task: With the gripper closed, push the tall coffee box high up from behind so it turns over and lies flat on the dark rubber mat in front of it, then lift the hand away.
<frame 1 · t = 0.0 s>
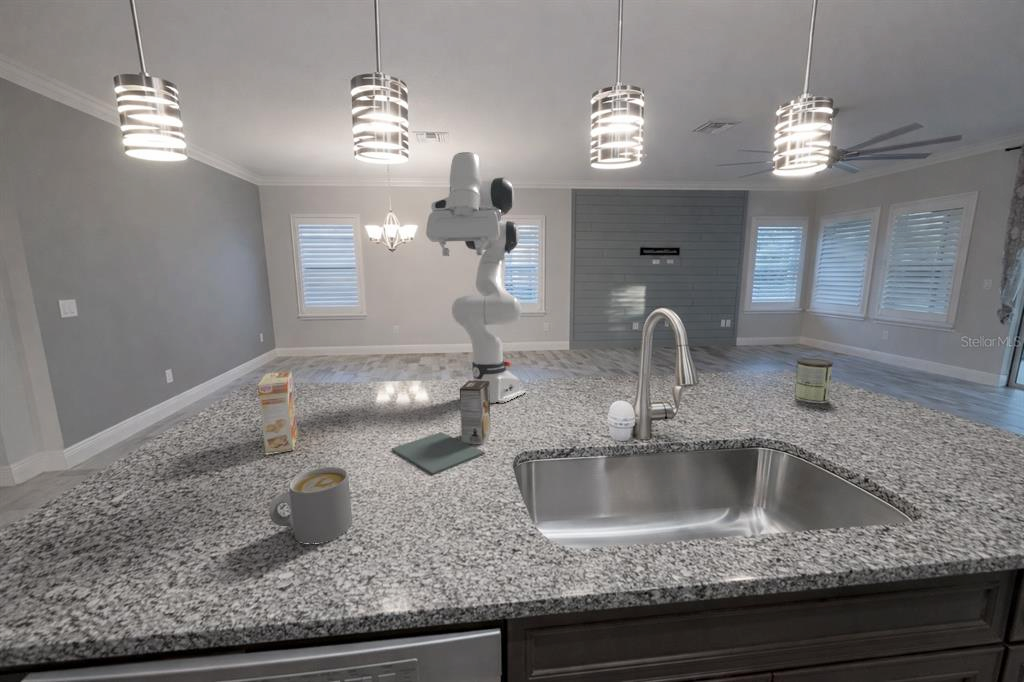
hand: (462, 255, 113), 52 cm above the worktop, tool tilted 20°, fingers open, 8 cm apart
coffee mug: (314, 530, 78), on the worktop
coffee can: (810, 399, 150), on the worktop
mat: (437, 452, 111), on the worktop
coffeecake box: (283, 444, 118), on the worktop
coffee box: (476, 438, 120), on the worktop
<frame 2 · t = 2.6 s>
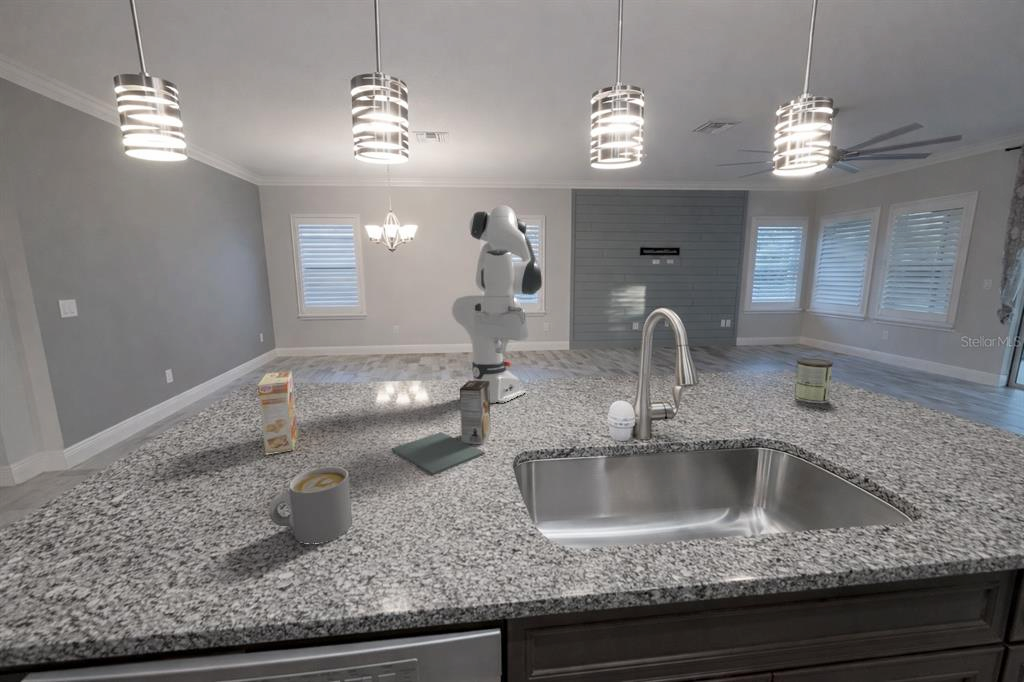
hand: (500, 352, 123), 24 cm above the worktop, tool pointing down, fingers closed
nothing on the worktop moved.
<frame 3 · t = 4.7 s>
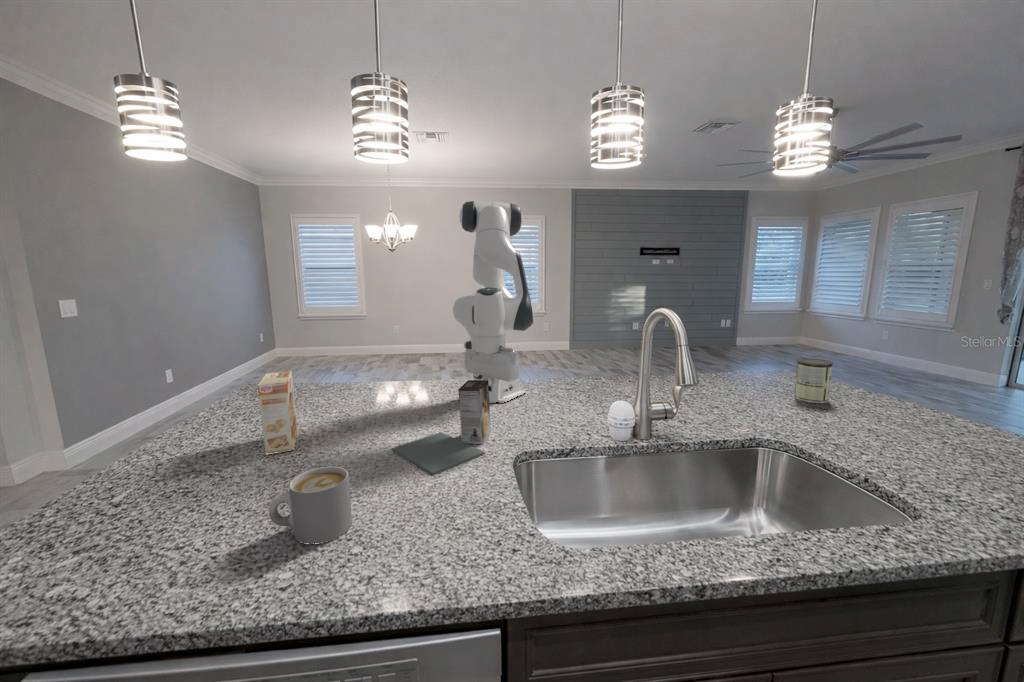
hand: (491, 391, 122), 13 cm above the worktop, tool pointing down, fingers closed
coffee box: (476, 438, 120), on the worktop, touching gripper
everything else where it was.
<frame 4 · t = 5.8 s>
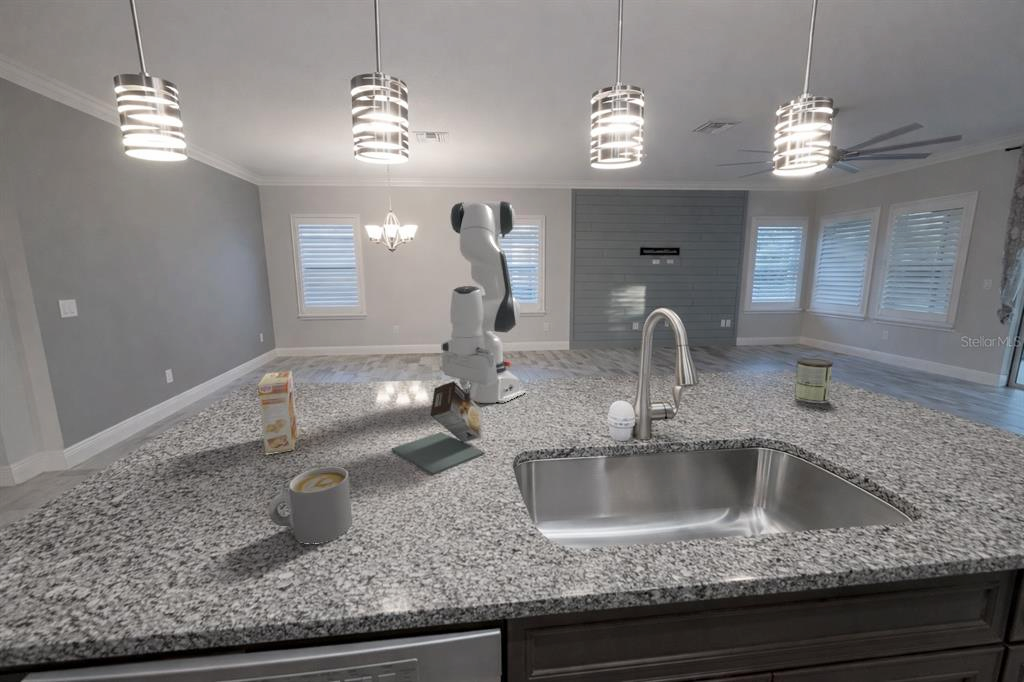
hand: (469, 395, 115), 14 cm above the worktop, tool pointing down, fingers closed, pressing on coffee box
coffee box: (473, 427, 119), point 4 cm above the worktop, touching gripper, mat
everything else where it was.
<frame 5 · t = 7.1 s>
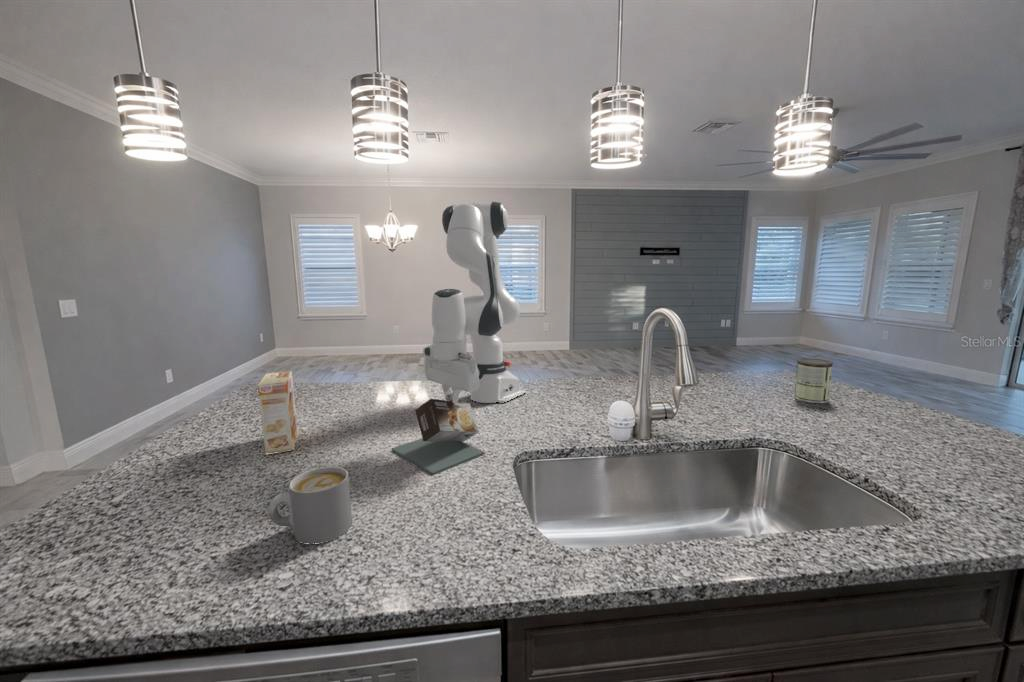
hand: (451, 401, 112), 13 cm above the worktop, tool pointing down, fingers closed, pressing on coffee box
coffee box: (467, 422, 118), point 5 cm above the worktop, touching gripper, mat
everything else where it was.
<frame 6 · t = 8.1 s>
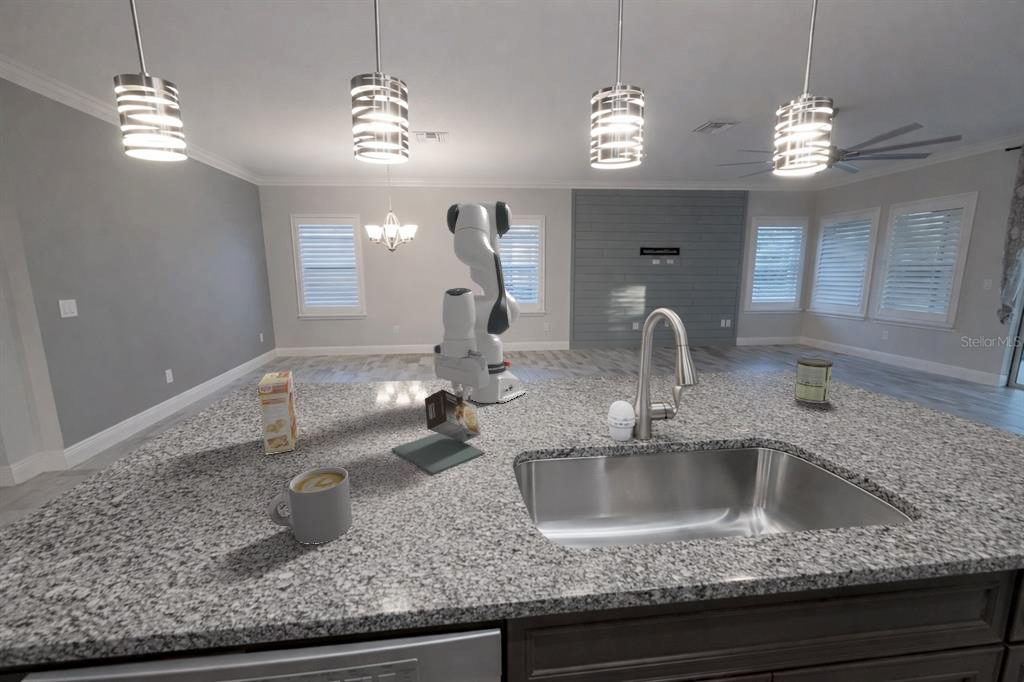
hand: (461, 398, 114), 13 cm above the worktop, tool pointing down, fingers closed, pressing on coffee box
coffee box: (470, 424, 118), point 4 cm above the worktop, touching gripper, mat
everything else where it was.
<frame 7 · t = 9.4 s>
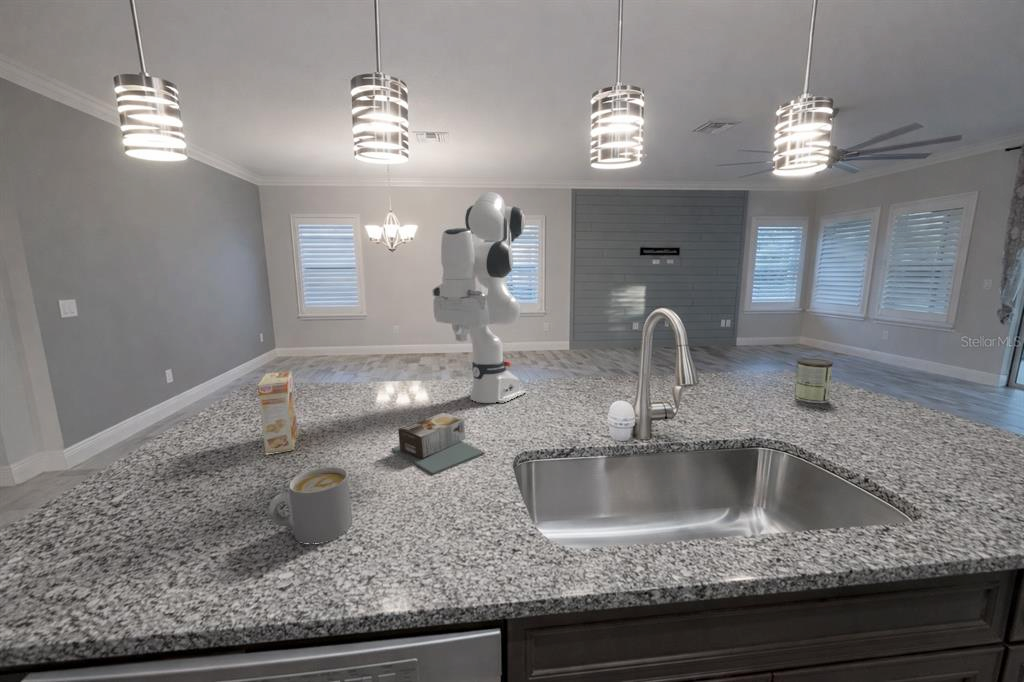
hand: (461, 340, 114), 29 cm above the worktop, tool pointing down, fingers closed
coffee box: (454, 425, 120), point 4 cm above the worktop, touching mat
everything else where it was.
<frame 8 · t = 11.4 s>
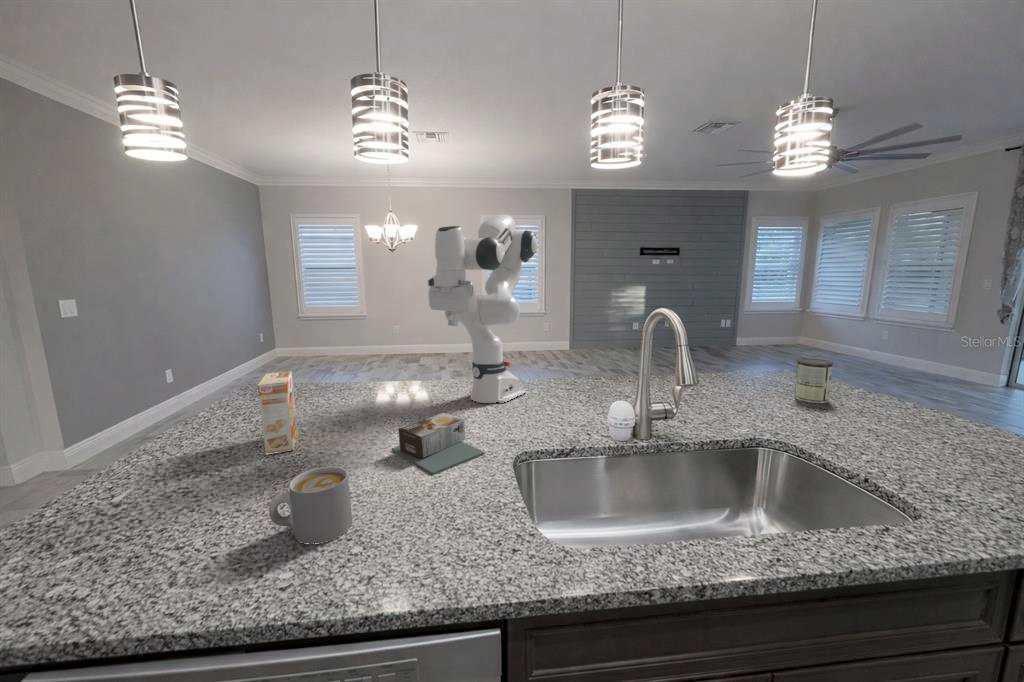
hand: (453, 325, 128), 31 cm above the worktop, tool pointing down, fingers closed
nothing on the worktop moved.
at the end: coffee box tilted 90°; coffee box touching mat; the gripper is holding nothing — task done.
